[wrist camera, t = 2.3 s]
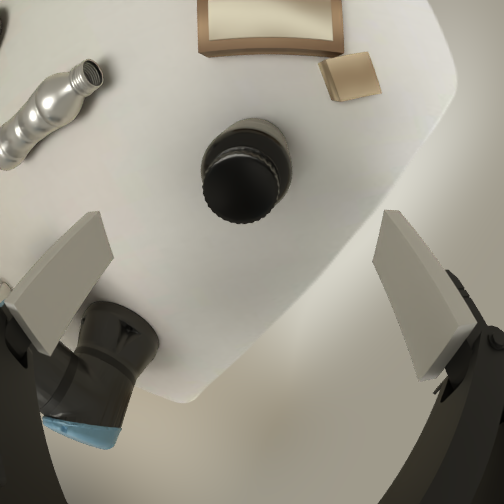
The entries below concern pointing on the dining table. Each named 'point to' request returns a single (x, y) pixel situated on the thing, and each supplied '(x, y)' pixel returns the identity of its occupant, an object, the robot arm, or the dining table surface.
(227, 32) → the base
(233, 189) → the supplement bottle
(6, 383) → the robot arm
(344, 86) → the beech cube
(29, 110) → the plastic bottle
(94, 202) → the dining table surface
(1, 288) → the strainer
